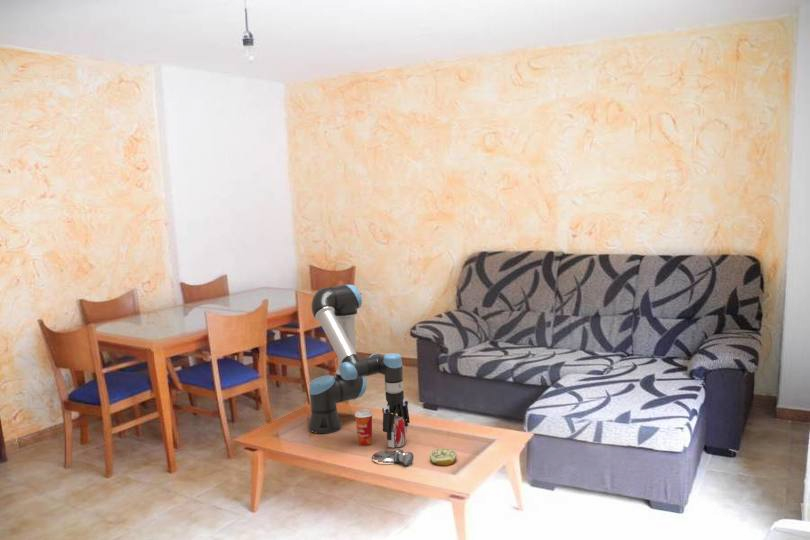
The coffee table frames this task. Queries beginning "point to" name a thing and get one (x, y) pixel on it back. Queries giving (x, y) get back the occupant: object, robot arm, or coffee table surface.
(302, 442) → the coffee table surface
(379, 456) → the flange
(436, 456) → the decorated donut
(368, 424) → the paper cup
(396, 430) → the soda can
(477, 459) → the coffee table surface
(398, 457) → the pipe stub
